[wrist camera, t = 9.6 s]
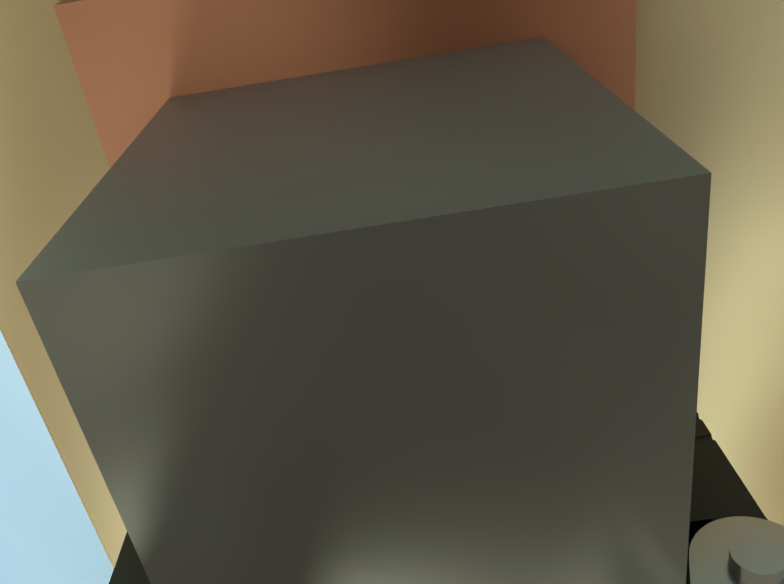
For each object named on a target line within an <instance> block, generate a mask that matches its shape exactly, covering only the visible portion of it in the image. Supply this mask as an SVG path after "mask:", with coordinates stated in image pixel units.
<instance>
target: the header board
mask: <svg viewBox="0 0 784 584" xmlns="http://www.w3.org/2000/svg"><path fill="white" fill-rule="evenodd" d="M539 37H544V38H546V39H547V40H548V41H549V42H551V43H552V44H553V45H554V46H555V47H557V48H558V49H559V50H560V51H562V52H563V53H564V54H565V55H567V56H568V57H569V58H570V59H572V60H573V61H574V62H575V63H577V64H578V65H579V66H580V67H581V68H583V69H584V70H585V71H586V72H588V73H589V74H590V75H591V76H593V77H594V78H595V79H596V80H598V81H599V82H600V83H601V84H602V85H604V86H605V87H606V88H607V89H609V90H610V91H611V92H612V93H614V94H615V95H616V96H617V97H619V98H620V99H621V100H622V101H623V102H625V103H626V104H627V105H628V106H630V107H631V108H632V109H633V110H635V111H636V112H637V113H638V114H640V115H641V116H642V117H643V118H644V119H646V120H647V121H648V122H649V123H651V124H652V125H653V126H654V127H656V128H657V129H658V130H659V131H661V132H662V133H663V134H664V135H665V136H667V137H668V138H669V139H670V140H672V141H673V142H674V143H675V144H677V145H678V146H679V147H680V148H682V149H683V150H684V151H685V152H686V153H688V154H689V155H690V156H691V157H693V158H694V159H695V160H696V161H698V162H699V163H700V164H701V165H703V166H704V167H705V168H706V169H707V170H709V171H710V172H711V189H710V205H709V221H708V237H707V253H706V269H705V285H704V301H703V317H702V333H701V349H700V365H699V381H698V397H697V413H698V414H699V419H702V421H703V422H704V424H705V425H706V427H707V428H708V430H709V431H710V433H711V434H712V439H713V440H716V442H717V443H718V445H719V446H720V448H721V450H722V451H723V453H724V454H725V456H726V457H727V459H728V460H729V462H730V463H731V465H732V466H733V468H734V469H735V471H736V472H737V474H738V476H739V477H740V479H741V480H742V482H743V483H744V485H745V486H746V488H747V489H748V491H749V492H750V494H751V495H752V497H753V498H754V500H755V501H756V503H757V505H758V506H759V508H760V509H761V511H762V512H763V514H764V515H765V517H766V518H767V519H768V520H769V521H773V522H775V523H778V524H780V525H783V526H784V0H0V330H1V332H2V334H3V336H4V338H5V341H6V343H7V345H8V347H9V349H10V351H11V353H12V355H13V357H14V360H15V362H16V364H17V366H18V368H19V370H20V372H21V374H22V376H23V379H24V381H25V383H26V385H27V387H28V389H29V391H30V393H31V395H32V398H33V400H34V402H35V404H36V406H37V408H38V410H39V412H40V414H41V417H42V419H43V421H44V423H45V425H46V427H47V429H48V431H49V433H50V435H51V438H52V440H53V442H54V444H55V446H56V448H57V450H58V452H59V454H60V457H61V459H62V461H63V463H64V465H65V467H66V469H67V471H68V473H69V476H70V478H71V480H72V482H73V484H74V486H75V488H76V490H77V492H78V495H79V497H80V499H81V501H82V503H83V505H84V507H85V509H86V511H87V514H88V516H89V518H90V520H91V522H92V524H93V526H94V528H95V530H96V533H97V535H98V537H99V539H100V541H101V543H102V545H103V547H104V549H105V551H106V554H107V556H108V558H109V560H110V562H111V564H112V566H113V568H115V565H116V562H117V559H118V556H119V553H120V550H121V547H122V544H123V542H124V539H125V536H126V533H127V530H126V528H125V525H124V523H123V521H122V519H121V516H120V514H119V512H118V510H117V507H116V505H115V503H114V501H113V499H112V496H111V494H110V492H109V490H108V487H107V485H106V483H105V481H104V479H103V476H102V474H101V472H100V470H99V467H98V465H97V463H96V461H95V458H94V456H93V454H92V452H91V450H90V447H89V445H88V443H87V441H86V438H85V436H84V434H83V432H82V429H81V427H80V425H79V423H78V421H77V418H76V416H75V414H74V412H73V409H72V407H71V405H70V403H69V401H68V398H67V396H66V394H65V392H64V389H63V387H62V385H61V383H60V380H59V378H58V376H57V374H56V372H55V369H54V367H53V365H52V363H51V360H50V358H49V356H48V354H47V352H46V349H45V347H44V345H43V343H42V340H41V338H40V336H39V334H38V331H37V329H36V327H35V325H34V323H33V320H32V318H31V316H30V314H29V311H28V309H27V307H26V305H25V302H24V300H23V298H22V296H21V294H20V291H19V289H18V287H17V285H16V281H17V279H18V278H19V277H20V276H21V275H22V273H23V272H24V271H25V270H26V269H27V267H28V266H29V265H30V264H31V263H32V261H33V260H34V259H35V258H36V257H37V255H38V254H39V253H40V252H41V251H42V250H43V248H44V247H45V246H46V245H47V244H48V242H49V241H50V240H51V239H52V238H53V236H54V235H55V234H56V233H57V232H58V230H59V229H60V228H61V227H62V226H63V224H64V223H65V222H66V221H67V220H68V218H69V217H70V216H71V215H72V214H73V212H74V211H75V210H76V209H77V208H78V206H79V205H80V204H81V203H82V202H83V200H84V199H85V198H86V197H87V196H88V194H89V193H90V192H91V191H92V190H93V188H94V187H95V186H96V185H97V184H98V182H99V181H100V180H101V179H102V178H103V176H104V175H105V174H106V173H107V172H108V171H109V169H110V168H111V167H112V166H113V165H114V163H115V162H116V161H117V160H118V159H119V157H120V156H121V155H122V154H123V153H124V151H125V150H126V149H127V148H128V147H129V145H130V144H131V143H132V142H133V141H134V139H135V138H136V137H137V136H138V135H139V133H140V132H141V131H142V130H143V129H144V127H145V126H146V125H147V124H148V123H149V121H150V120H151V119H152V118H153V117H154V115H155V114H156V113H157V112H158V111H159V109H160V108H161V107H162V106H163V105H164V103H165V102H166V101H167V100H168V99H169V98H171V97H177V96H184V95H190V94H196V93H202V92H208V91H214V90H220V89H226V88H233V87H239V86H245V85H251V84H257V83H263V82H269V81H275V80H282V79H288V78H294V77H300V76H306V75H312V74H318V73H324V72H331V71H337V70H343V69H349V68H355V67H361V66H367V65H373V64H380V63H386V62H392V61H398V60H404V59H410V58H416V57H423V56H429V55H435V54H441V53H447V52H453V51H459V50H466V49H472V48H478V47H484V46H490V45H496V44H502V43H509V42H515V41H521V40H527V39H533V38H539Z"/></svg>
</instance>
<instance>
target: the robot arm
mask: <svg viewBox="0 0 784 584" xmlns="http://www.w3.org/2000/svg"><path fill="white" fill-rule="evenodd" d="M109 584H151V583H150V581H149V579H148V577H147V574H146V572H145V570H144V568H143V565H142V563H141V561H140V559H139V556H138V554H137V552H136V550H135V548H134V545H133V543H132V541H131V539H130V536H129V534H128V532H127V533H126V536H125V539H124V542H123V544H122V547H121V550H120V553H119V556H118V559H117V562H116V565H115V568H114V571H113V574H112V576H111V579H110V582H109ZM686 584H784V526H783V525H780V524H778V523H775V522H773V521H769V520H768V519H767V518H766V517H765V515H764V514H763V512H762V511H761V509H760V508H759V506H758V505H757V503H756V501H755V500H754V498H753V497H752V495H751V494H750V492H749V491H748V489H747V488H746V486H745V485H744V483H743V482H742V480H741V479H740V477H739V476H738V474H737V472H736V471H735V469H734V468H733V466H732V465H731V463H730V462H729V460H728V459H727V457H726V456H725V454H724V453H723V451H722V450H721V448H720V446H719V445H718V443H717V442H716V440H713V439H712V434H711V433H710V431H709V430H708V428H707V427H706V425H705V424H704V422H703V421H702V419H699V414H698V413H696V429H695V445H694V461H693V477H692V493H691V509H690V525H689V541H688V557H687V573H686Z"/></svg>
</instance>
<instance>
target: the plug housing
mask: <svg viewBox="0 0 784 584" xmlns="http://www.w3.org/2000/svg"><path fill="white" fill-rule="evenodd" d="M710 189H711V172H710V171H709V170H707V169H706V168H705V167H704V166H703V165H701V164H700V163H699V162H698V161H696V160H695V159H694V158H693V157H691V156H690V155H689V154H688V153H686V152H685V151H684V150H683V149H682V148H680V147H679V146H678V145H677V144H675V143H674V142H673V141H672V140H670V139H669V138H668V137H667V136H665V135H664V134H663V133H662V132H661V131H659V130H658V129H657V128H656V127H654V126H653V125H652V124H651V123H649V122H648V121H647V120H646V119H644V118H643V117H642V116H641V115H640V114H638V113H637V112H636V111H635V110H633V109H632V108H631V107H630V106H628V105H627V104H626V103H625V102H623V101H622V100H621V99H620V98H619V97H617V96H616V95H615V94H614V93H612V92H611V91H610V90H609V89H607V88H606V87H605V86H604V85H602V84H601V83H600V82H599V81H598V80H596V79H595V78H594V77H593V76H591V75H590V74H589V73H588V72H586V71H585V70H584V69H583V68H581V67H580V66H579V65H578V64H577V63H575V62H574V61H573V60H572V59H570V58H569V57H568V56H567V55H565V54H564V53H563V52H562V51H560V50H559V49H558V48H557V47H555V46H554V45H553V44H552V43H551V42H549V41H548V40H547V39H546V38H544V37H539V38H533V39H527V40H521V41H515V42H509V43H502V44H496V45H490V46H484V47H478V48H472V49H466V50H459V51H453V52H447V53H441V54H435V55H429V56H423V57H416V58H410V59H404V60H398V61H392V62H386V63H380V64H373V65H367V66H361V67H355V68H349V69H343V70H337V71H331V72H324V73H318V74H312V75H306V76H300V77H294V78H288V79H282V80H275V81H269V82H263V83H257V84H251V85H245V86H239V87H233V88H226V89H220V90H214V91H208V92H202V93H196V94H190V95H184V96H177V97H171V98H169V99H168V100H167V101H166V102H165V103H164V105H163V106H162V107H161V108H160V109H159V111H158V112H157V113H156V114H155V115H154V117H153V118H152V119H151V120H150V121H149V123H148V124H147V125H146V126H145V127H144V129H143V130H142V131H141V132H140V133H139V135H138V136H137V137H136V138H135V139H134V141H133V142H132V143H131V144H130V145H129V147H128V148H127V149H126V150H125V151H124V153H123V154H122V155H121V156H120V157H119V159H118V160H117V161H116V162H115V163H114V165H113V166H112V167H111V168H110V169H109V171H108V172H107V173H106V174H105V175H104V176H103V178H102V179H101V180H100V181H99V182H98V184H97V185H96V186H95V187H94V188H93V190H92V191H91V192H90V193H89V194H88V196H87V197H86V198H85V199H84V200H83V202H82V203H81V204H80V205H79V206H78V208H77V209H76V210H75V211H74V212H73V214H72V215H71V216H70V217H69V218H68V220H67V221H66V222H65V223H64V224H63V226H62V227H61V228H60V229H59V230H58V232H57V233H56V234H55V235H54V236H53V238H52V239H51V240H50V241H49V242H48V244H47V245H46V246H45V247H44V248H43V250H42V251H41V252H40V253H39V254H38V255H37V257H36V258H35V259H34V260H33V261H32V263H31V264H30V265H29V266H28V267H27V269H26V270H25V271H24V272H23V273H22V275H21V276H20V277H19V278H18V279H17V281H16V285H17V287H18V289H19V291H20V294H21V296H22V298H23V300H24V302H25V305H26V307H27V309H28V311H29V314H30V316H31V318H32V320H33V323H34V325H35V327H36V329H37V331H38V334H39V336H40V338H41V340H42V343H43V345H44V347H45V349H46V352H47V354H48V356H49V358H50V360H51V363H52V365H53V367H54V369H55V372H56V374H57V376H58V378H59V380H60V383H61V385H62V387H63V389H64V392H65V394H66V396H67V398H68V401H69V403H70V405H71V407H72V409H73V412H74V414H75V416H76V418H77V421H78V423H79V425H80V427H81V429H82V432H83V434H84V436H85V438H86V441H87V443H88V445H89V447H90V450H91V452H92V454H93V456H94V458H95V461H96V463H97V465H98V467H99V470H100V472H101V474H102V476H103V479H104V481H105V483H106V485H107V487H108V490H109V492H110V494H111V496H112V499H113V501H114V503H115V505H116V507H117V510H118V512H119V514H120V516H121V519H122V521H123V523H124V525H125V528H126V530H127V532H128V534H129V536H130V539H131V541H132V543H133V545H134V548H135V550H136V552H137V554H138V556H139V559H140V561H141V563H142V565H143V568H144V570H145V572H146V574H147V577H148V579H149V581H150V583H151V584H686V573H687V557H688V541H689V525H690V509H691V493H692V477H693V461H694V445H695V429H696V413H697V397H698V381H699V365H700V349H701V333H702V317H703V301H704V285H705V269H706V253H707V237H708V221H709V205H710Z"/></svg>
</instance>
